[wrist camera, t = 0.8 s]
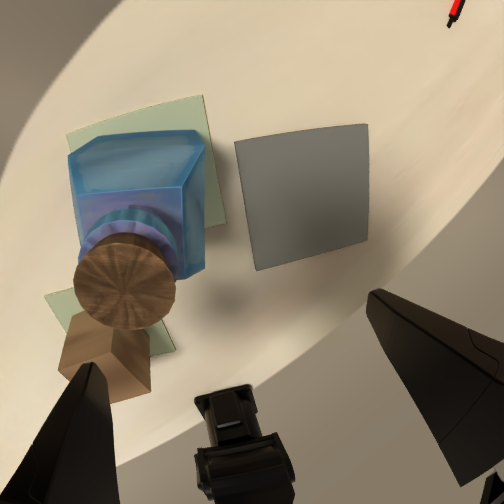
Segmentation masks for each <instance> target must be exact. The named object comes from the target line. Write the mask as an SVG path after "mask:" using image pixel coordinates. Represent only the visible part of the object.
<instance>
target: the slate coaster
mask: <svg viewBox="0 0 504 504" xmlns="http://www.w3.org/2000/svg"><path fill="white" fill-rule="evenodd" d="M234 144H235V150H236V156H237V162H238V168H239V174H240V180H241V186H242V192H243V198H244V204H245V210H246V216H247V222H248V228H249V234H250V240H251V246H252V252H253V258H254V264H255V269H256V271H259V270H263V269H267V268H270V267H274V266H278V265H282V264H285V263H289V262H292V261H296V260H300V259H303V258H307V257H311V256H314V255H318V254H321V253H325V252H328V251H332V250H335V249H339V248H343V247H346V246H350V245H353V244H357V243H360V242H364V241H367V235H368V213H369V136H368V124H355V125H344V126H334V127H325V128H317V129H309V130H302V131H295V132H288V133H281V134H275V135H269V136H263V137H257V138H252V139H246V140H241V141H236V142H234Z"/></svg>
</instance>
